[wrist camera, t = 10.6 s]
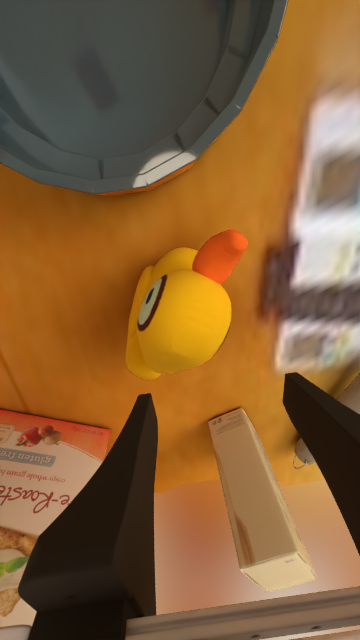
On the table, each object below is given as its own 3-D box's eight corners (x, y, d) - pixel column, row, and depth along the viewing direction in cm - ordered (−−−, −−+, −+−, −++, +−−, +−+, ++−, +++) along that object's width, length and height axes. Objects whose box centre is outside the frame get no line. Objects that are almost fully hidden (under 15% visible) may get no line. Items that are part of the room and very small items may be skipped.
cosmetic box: (206, 419, 27) (235, 569, 16) (241, 404, 26) (298, 550, 15) (227, 451, 30) (265, 597, 19) (260, 438, 29) (320, 582, 18)
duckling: (175, 199, 17) (189, 198, 8) (237, 236, 18) (308, 272, 9) (114, 327, 21) (79, 420, 12) (169, 349, 22) (173, 448, 14)
